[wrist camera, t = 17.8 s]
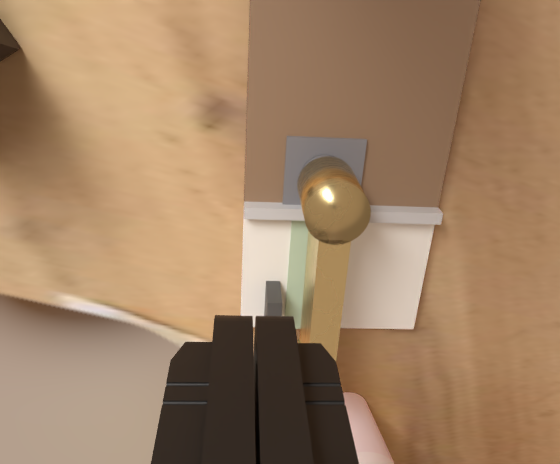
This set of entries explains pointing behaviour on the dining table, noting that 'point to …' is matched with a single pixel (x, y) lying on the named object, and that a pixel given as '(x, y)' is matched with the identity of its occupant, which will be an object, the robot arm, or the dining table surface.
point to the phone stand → (7, 42)
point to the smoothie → (365, 432)
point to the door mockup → (350, 142)
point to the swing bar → (328, 244)
